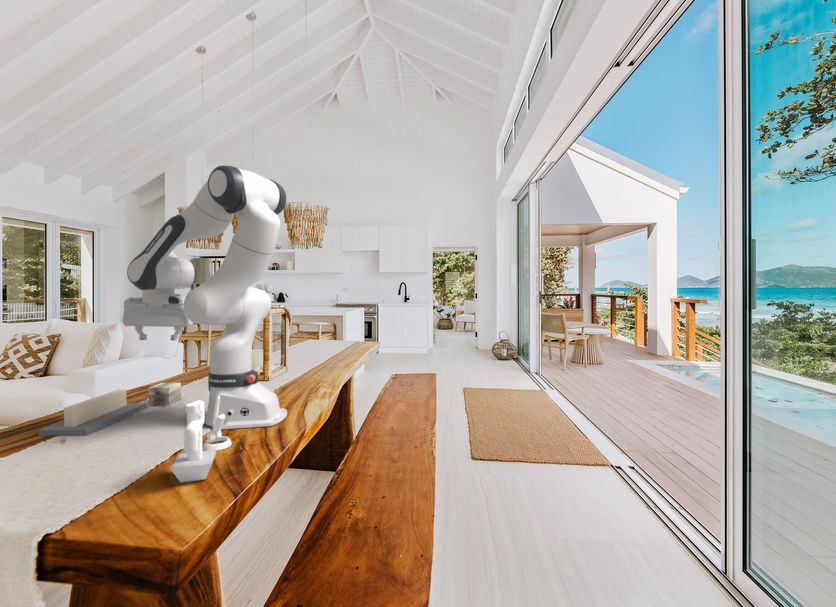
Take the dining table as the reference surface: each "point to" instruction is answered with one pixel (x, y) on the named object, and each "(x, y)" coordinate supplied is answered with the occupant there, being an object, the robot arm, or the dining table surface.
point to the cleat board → (92, 422)
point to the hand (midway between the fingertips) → (158, 340)
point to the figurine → (193, 448)
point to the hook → (216, 436)
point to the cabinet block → (165, 393)
